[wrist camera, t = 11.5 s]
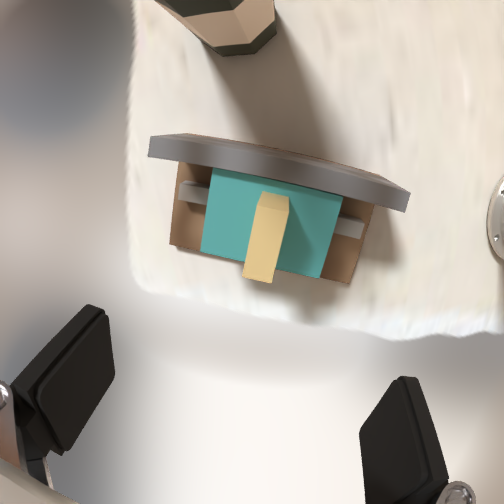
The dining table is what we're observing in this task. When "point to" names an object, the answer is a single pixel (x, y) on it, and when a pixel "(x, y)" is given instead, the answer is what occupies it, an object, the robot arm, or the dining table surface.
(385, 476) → the robot arm
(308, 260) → the teal block
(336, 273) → the wall board
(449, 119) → the dining table surface
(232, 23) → the wine bottle
